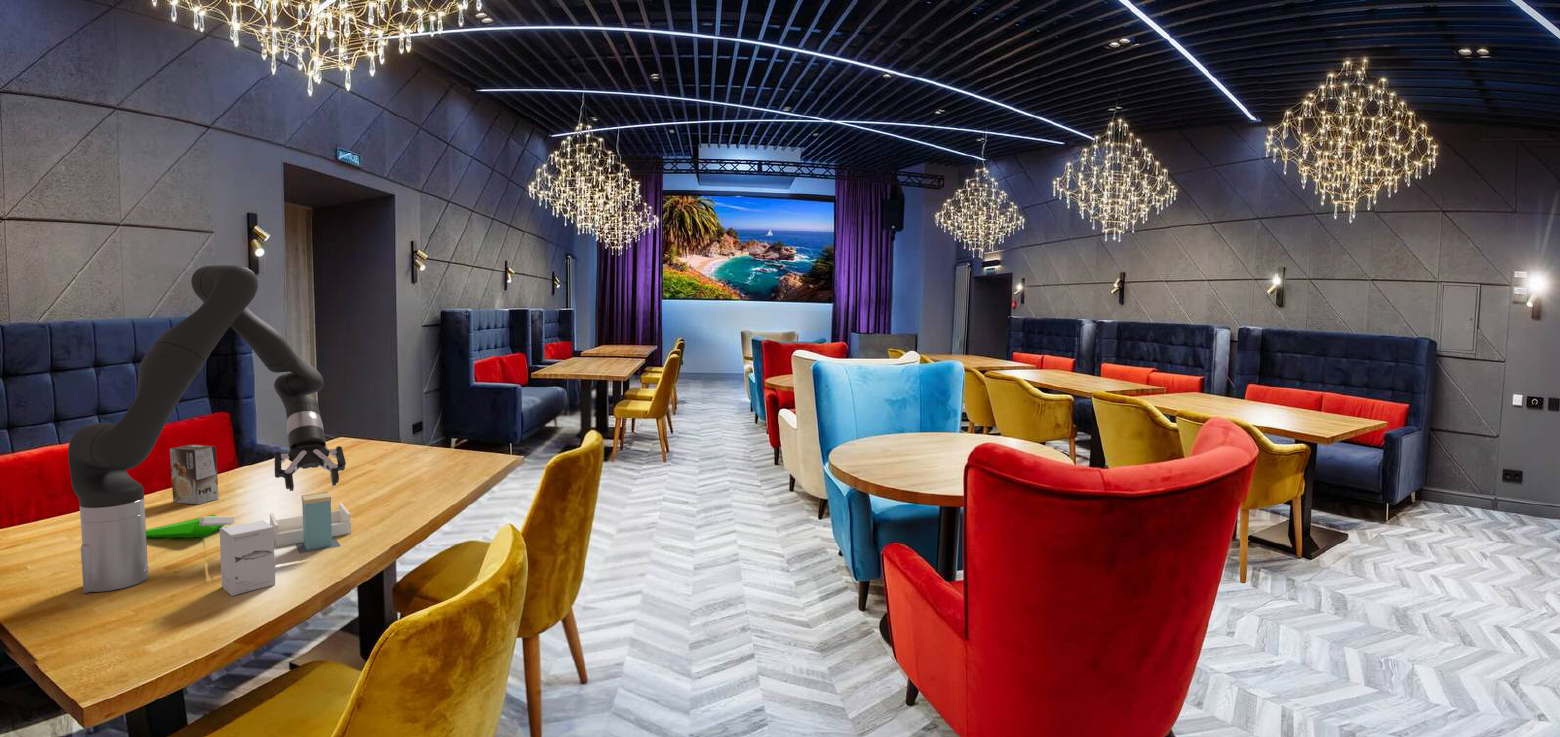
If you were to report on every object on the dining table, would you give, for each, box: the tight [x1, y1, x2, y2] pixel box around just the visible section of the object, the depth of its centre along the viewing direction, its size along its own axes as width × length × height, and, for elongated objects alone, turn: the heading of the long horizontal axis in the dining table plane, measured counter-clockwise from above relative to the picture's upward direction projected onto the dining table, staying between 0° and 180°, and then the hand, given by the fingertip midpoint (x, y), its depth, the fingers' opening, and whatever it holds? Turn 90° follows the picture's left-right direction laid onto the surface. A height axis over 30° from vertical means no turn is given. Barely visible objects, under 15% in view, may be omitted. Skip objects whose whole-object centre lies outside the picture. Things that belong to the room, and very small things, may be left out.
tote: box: [269, 502, 352, 547], centre depth 165 cm, size 15×13×6 cm
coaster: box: [294, 536, 341, 555], centre depth 157 cm, size 8×8×1 cm
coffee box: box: [169, 444, 220, 505], centre depth 190 cm, size 9×6×16 cm
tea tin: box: [301, 491, 332, 550], centre depth 157 cm, size 5×5×12 cm
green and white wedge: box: [146, 514, 235, 539], centre depth 161 cm, size 11×5×25 cm
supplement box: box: [219, 519, 276, 597], centre depth 134 cm, size 7×7×13 cm
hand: (313, 486), depth 159 cm, fingers open, 8 cm apart
